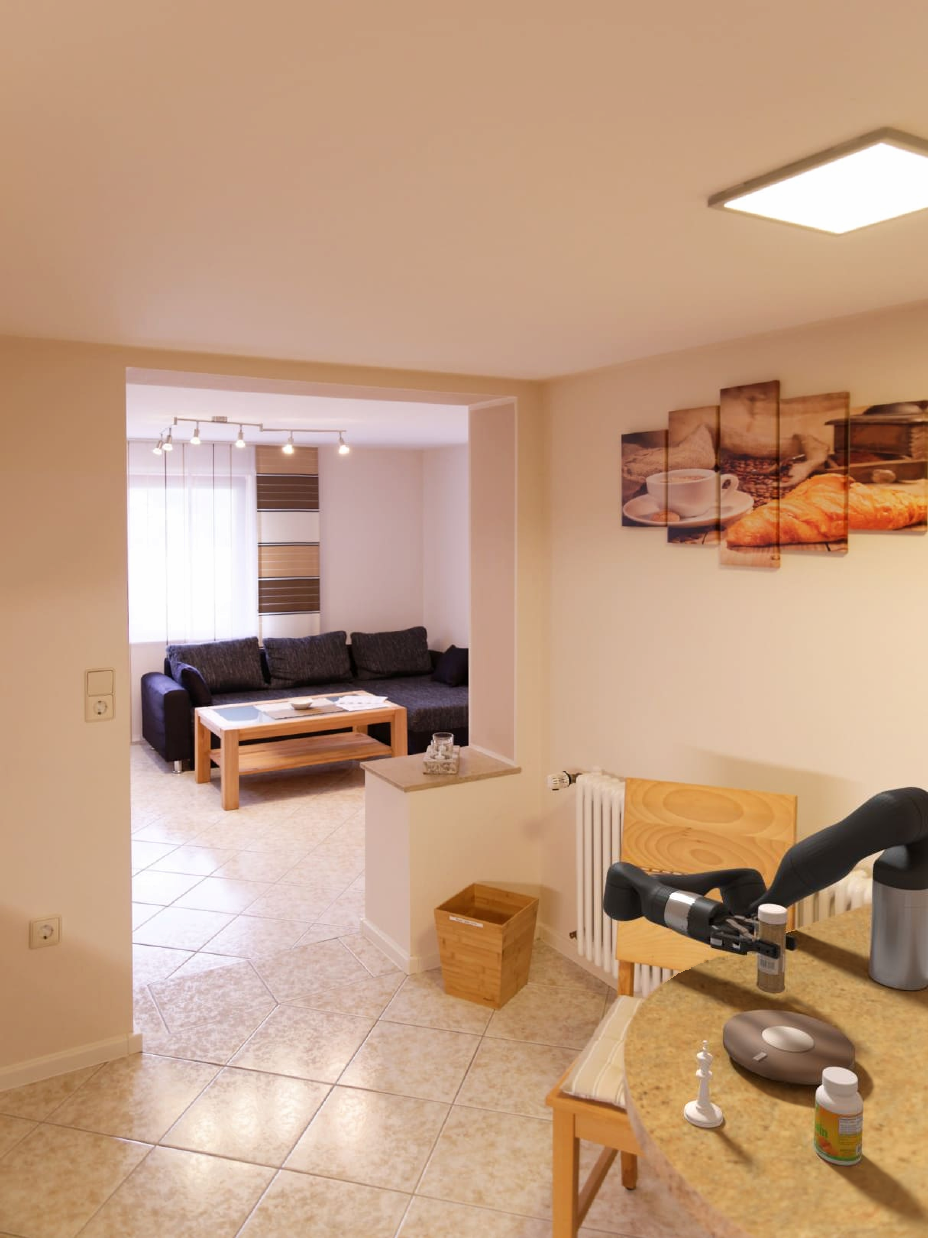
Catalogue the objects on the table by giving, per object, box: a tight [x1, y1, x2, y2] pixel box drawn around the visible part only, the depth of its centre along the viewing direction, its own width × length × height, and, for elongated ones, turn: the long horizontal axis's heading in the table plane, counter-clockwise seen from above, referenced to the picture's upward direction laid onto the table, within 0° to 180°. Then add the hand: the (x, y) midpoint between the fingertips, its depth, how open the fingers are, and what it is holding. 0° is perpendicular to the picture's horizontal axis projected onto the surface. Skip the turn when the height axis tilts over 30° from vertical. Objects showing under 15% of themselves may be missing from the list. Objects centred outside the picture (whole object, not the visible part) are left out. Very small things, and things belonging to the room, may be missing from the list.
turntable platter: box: [722, 1009, 856, 1086], centre depth 134 cm, size 18×18×2 cm
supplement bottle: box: [813, 1067, 864, 1166], centre depth 113 cm, size 5×5×10 cm
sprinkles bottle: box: [755, 904, 789, 995], centre depth 152 cm, size 5×5×13 cm
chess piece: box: [683, 1039, 724, 1129], centre depth 120 cm, size 5×5×10 cm
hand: (786, 948), depth 150 cm, fingers closed on sprinkles bottle, 4 cm apart
